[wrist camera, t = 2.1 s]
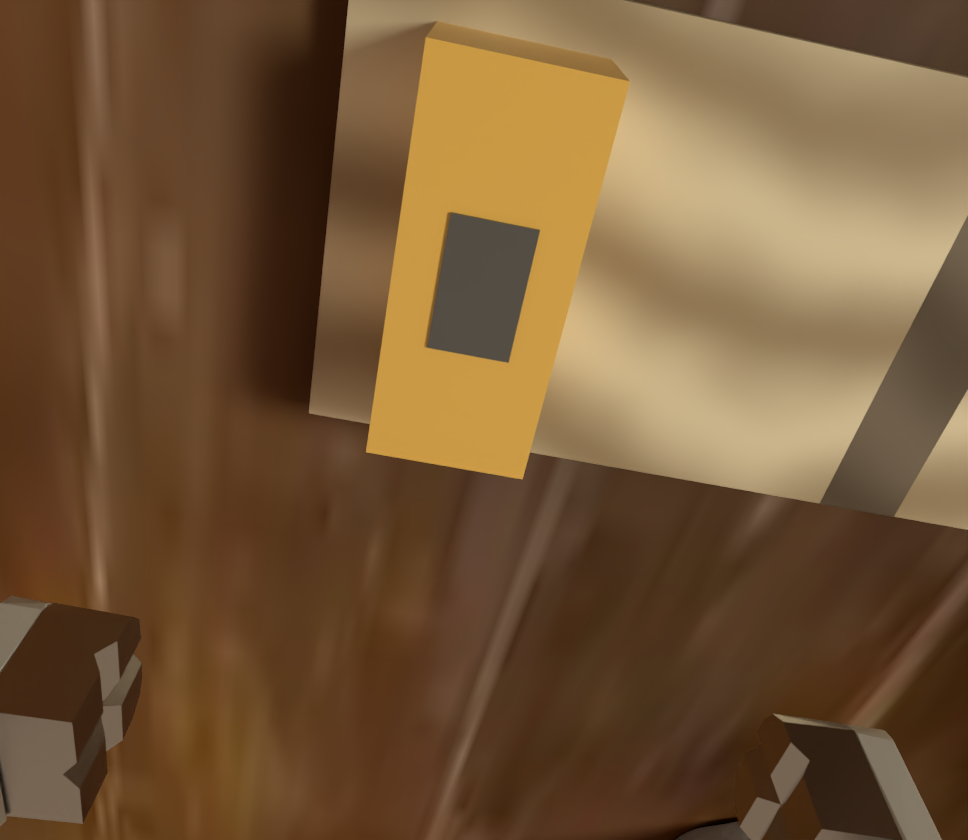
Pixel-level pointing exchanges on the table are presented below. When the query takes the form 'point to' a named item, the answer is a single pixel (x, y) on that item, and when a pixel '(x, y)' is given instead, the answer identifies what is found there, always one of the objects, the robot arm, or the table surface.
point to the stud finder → (489, 244)
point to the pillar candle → (716, 833)
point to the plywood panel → (708, 255)
